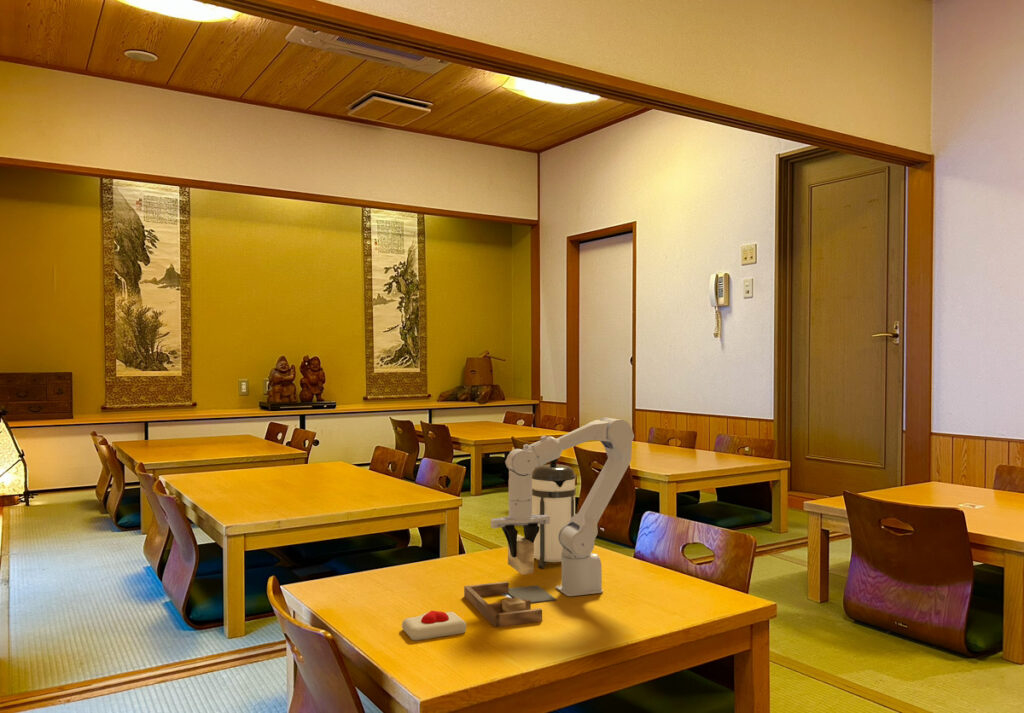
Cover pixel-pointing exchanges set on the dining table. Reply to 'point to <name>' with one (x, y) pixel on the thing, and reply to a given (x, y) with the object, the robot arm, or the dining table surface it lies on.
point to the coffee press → (552, 508)
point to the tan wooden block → (522, 556)
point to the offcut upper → (513, 605)
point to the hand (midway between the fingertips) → (520, 555)
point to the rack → (499, 605)
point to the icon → (433, 625)
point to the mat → (531, 594)
